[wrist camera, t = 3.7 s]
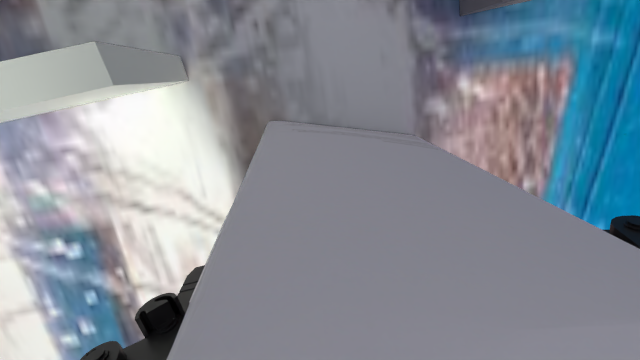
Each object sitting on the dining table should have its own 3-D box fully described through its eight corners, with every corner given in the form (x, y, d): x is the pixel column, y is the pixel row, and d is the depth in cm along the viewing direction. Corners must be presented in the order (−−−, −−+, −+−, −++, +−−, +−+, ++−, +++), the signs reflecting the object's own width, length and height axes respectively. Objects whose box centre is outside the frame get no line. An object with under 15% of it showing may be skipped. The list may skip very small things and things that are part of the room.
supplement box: (264, 115, 16) (111, 379, 2) (418, 133, 17) (959, 375, 3) (254, 257, 19) (162, 766, 5) (387, 264, 20) (611, 687, 6)
